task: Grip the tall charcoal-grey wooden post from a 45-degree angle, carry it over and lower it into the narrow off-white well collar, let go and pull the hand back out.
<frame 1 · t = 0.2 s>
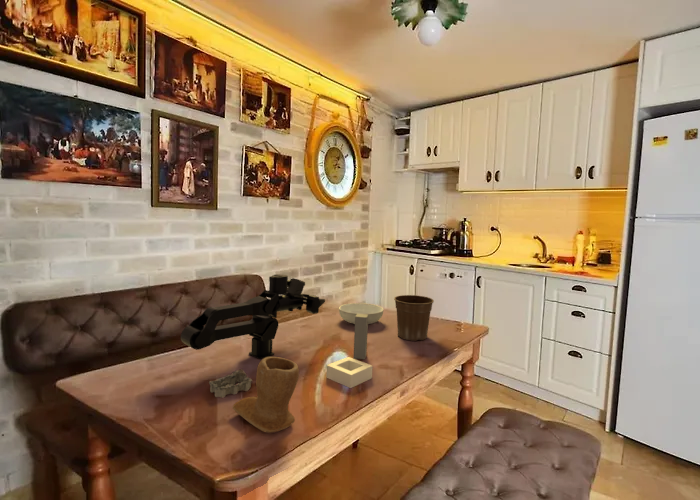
hand: (316, 298, 154), 17 cm above the table, tool horizontal, fingers open, 9 cm apart
tan boot: (268, 419, 95), on the table
serving bowl: (360, 322, 182), on the table
plant pot: (411, 337, 164), on the table
well collar: (349, 377, 120), on the table
post: (359, 356, 138), on the table
egg carton: (230, 391, 110), on the table
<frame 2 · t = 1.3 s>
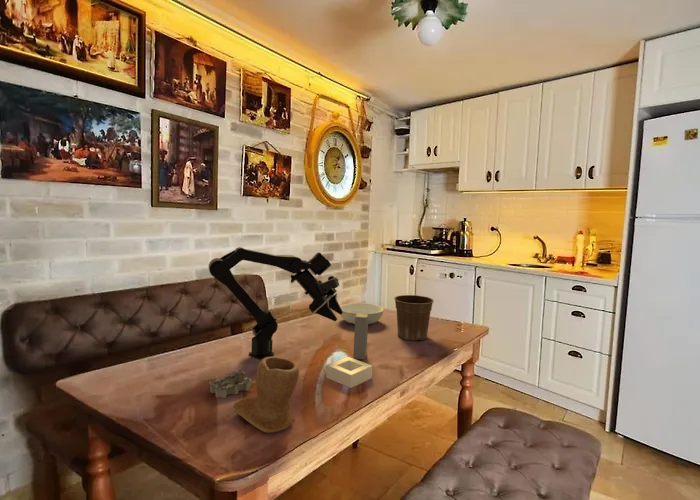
hand: (339, 316, 139), 14 cm above the table, tool tilted 45°, fingers open, 9 cm apart
nothing on the table moved.
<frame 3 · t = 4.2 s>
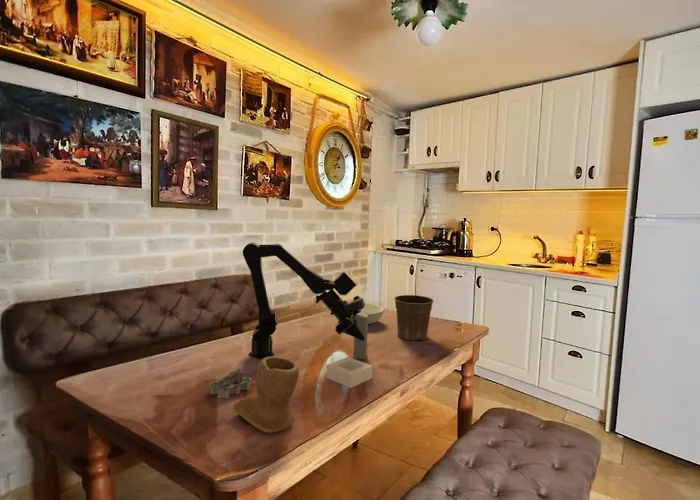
hand: (364, 337, 137), 7 cm above the table, tool tilted 45°, fingers closed on post, 4 cm apart
post: (359, 356, 138), on the table, touching gripper
everything else where it was.
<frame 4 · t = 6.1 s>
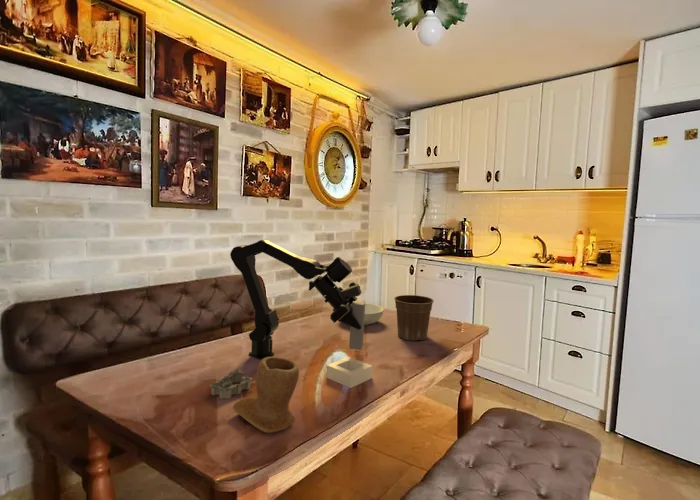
hand: (361, 326, 129), 13 cm above the table, tool tilted 45°, fingers closed on post, 4 cm apart
post: (356, 347, 130), point 6 cm above the table, touching gripper
when the fingers open (8 cm above the table, at t = 8.3 s): post drops 1 cm, resting in well collar.
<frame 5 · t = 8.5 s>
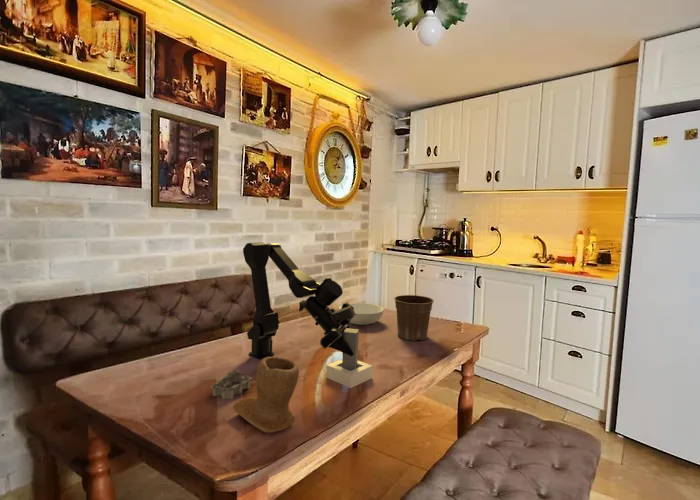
hand: (354, 351, 119), 9 cm above the table, tool tilted 45°, fingers open, 6 cm apart
post: (349, 377, 121), resting in well collar
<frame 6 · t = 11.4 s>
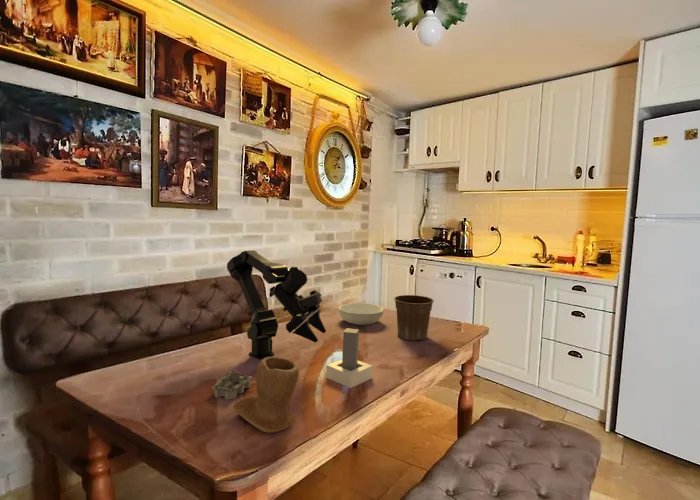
hand: (321, 336, 124), 11 cm above the table, tool tilted 45°, fingers open, 9 cm apart
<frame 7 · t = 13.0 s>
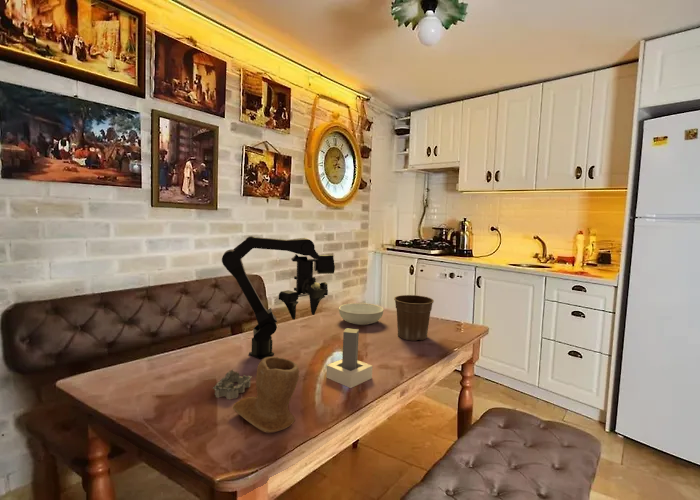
hand: (303, 317, 139), 13 cm above the table, tool pointing down, fingers open, 9 cm apart
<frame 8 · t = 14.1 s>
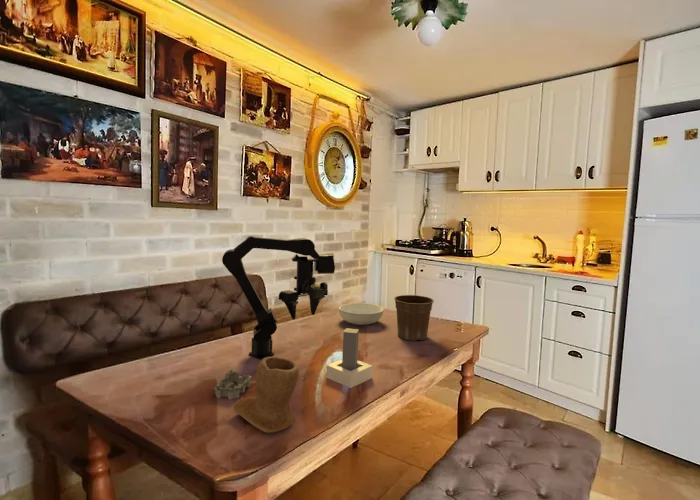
hand: (303, 317, 139), 13 cm above the table, tool pointing down, fingers open, 9 cm apart
at the end: post 0.1 cm off-centre on the well collar, point 0.0 cm above the well collar's base; post tilted 0°; the gripper is holding nothing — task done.
